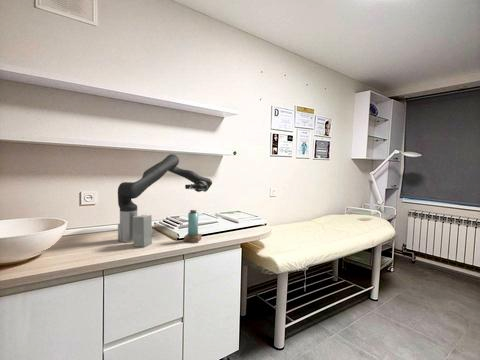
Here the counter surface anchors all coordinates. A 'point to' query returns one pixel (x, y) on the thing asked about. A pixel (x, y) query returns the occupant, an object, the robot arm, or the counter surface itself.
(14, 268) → the counter surface
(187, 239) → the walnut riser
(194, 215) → the teal bottle
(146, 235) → the skincare box
